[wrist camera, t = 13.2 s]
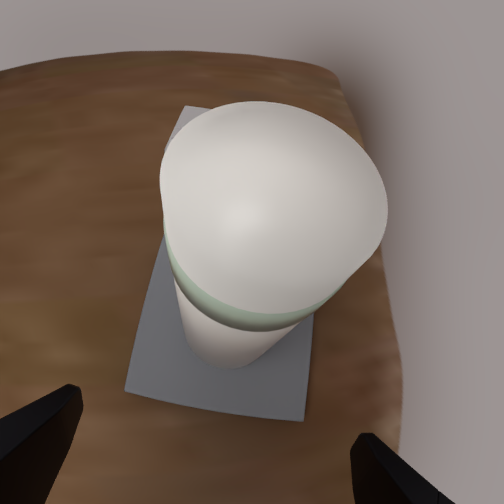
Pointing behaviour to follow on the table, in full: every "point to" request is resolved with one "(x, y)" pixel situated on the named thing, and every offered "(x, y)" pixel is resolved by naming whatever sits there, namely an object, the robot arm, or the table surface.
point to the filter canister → (263, 223)
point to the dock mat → (209, 377)
